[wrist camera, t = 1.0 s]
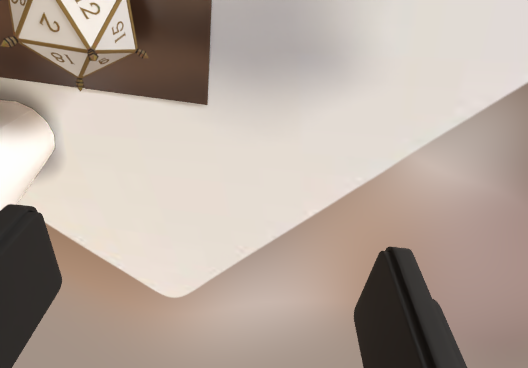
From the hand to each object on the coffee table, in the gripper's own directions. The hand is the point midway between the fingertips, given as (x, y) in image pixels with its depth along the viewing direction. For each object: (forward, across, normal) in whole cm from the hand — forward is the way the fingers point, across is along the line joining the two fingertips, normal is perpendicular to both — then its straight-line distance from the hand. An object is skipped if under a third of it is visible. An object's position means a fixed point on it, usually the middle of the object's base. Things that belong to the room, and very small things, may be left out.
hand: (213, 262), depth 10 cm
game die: (+22, +12, -2) cm, 25 cm away
